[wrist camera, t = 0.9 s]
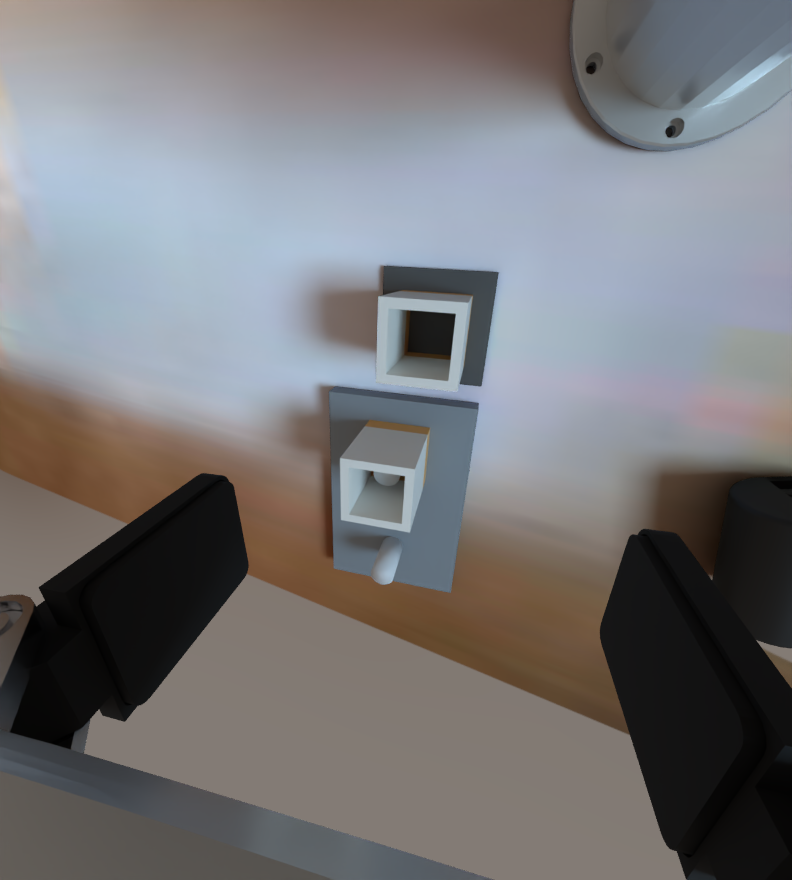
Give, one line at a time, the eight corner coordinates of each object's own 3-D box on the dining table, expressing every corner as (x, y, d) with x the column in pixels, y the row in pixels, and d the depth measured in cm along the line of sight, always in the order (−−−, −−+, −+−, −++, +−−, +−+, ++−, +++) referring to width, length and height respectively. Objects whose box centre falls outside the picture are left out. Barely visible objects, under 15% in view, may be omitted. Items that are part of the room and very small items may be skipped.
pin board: (335, 386, 32) (308, 407, 27) (478, 403, 30) (476, 429, 25) (338, 558, 40) (318, 598, 35) (451, 581, 38) (446, 627, 33)
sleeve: (403, 289, 27) (378, 296, 21) (473, 294, 26) (468, 302, 20) (399, 358, 29) (375, 383, 23) (464, 365, 28) (457, 392, 22)
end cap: (706, 472, 28) (765, 528, 22) (826, 468, 26) (925, 527, 20) (690, 576, 32) (736, 646, 26) (793, 578, 30) (869, 655, 24)
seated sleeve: (369, 419, 31) (340, 457, 25) (430, 427, 30) (414, 469, 24) (368, 472, 33) (340, 520, 27) (425, 481, 32) (409, 532, 26)
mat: (385, 266, 27) (383, 266, 27) (498, 272, 26) (498, 272, 25) (381, 374, 31) (380, 375, 30) (481, 385, 29) (481, 386, 29)
